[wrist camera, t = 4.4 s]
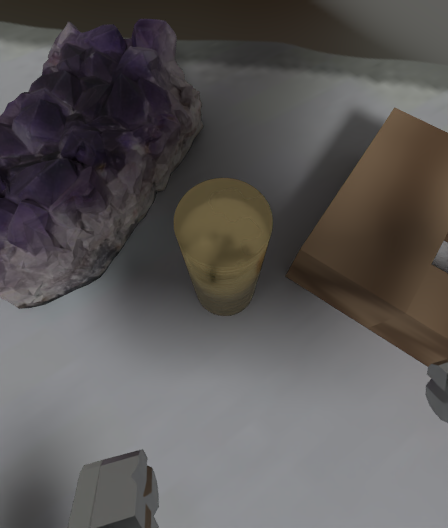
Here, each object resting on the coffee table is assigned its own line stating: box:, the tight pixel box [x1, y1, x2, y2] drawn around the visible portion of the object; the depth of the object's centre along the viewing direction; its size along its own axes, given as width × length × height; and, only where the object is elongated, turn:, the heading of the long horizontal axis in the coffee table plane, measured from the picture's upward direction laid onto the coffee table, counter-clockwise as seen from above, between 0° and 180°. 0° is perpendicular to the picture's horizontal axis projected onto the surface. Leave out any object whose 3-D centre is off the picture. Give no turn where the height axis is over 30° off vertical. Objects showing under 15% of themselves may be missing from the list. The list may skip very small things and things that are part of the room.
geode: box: [0, 19, 204, 309], centre depth 21 cm, size 20×12×10 cm, turn 156°
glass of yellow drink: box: [174, 178, 273, 316], centre depth 18 cm, size 4×4×10 cm
